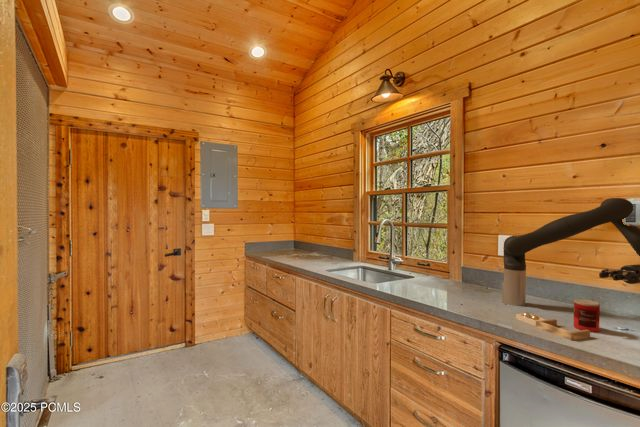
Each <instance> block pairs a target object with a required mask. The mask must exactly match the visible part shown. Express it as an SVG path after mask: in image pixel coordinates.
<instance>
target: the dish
mask: <svg viewBox="0 0 640 427" xmlns="http://www.w3.org/2000/svg"><path fill="white" fill-rule="evenodd" d="M529 314H530V313H529ZM530 315H531V317H532V316H533V314H530ZM538 317H539V316H538ZM515 319H516V320H519V321H521V322H524V323H527V324H530V325H533V326H535V327H536V321H541V320H547V319H545V318H542V317H539V319H540V320H533V319H530V318H527V317H525V316H523V313H516V314H515Z"/></svg>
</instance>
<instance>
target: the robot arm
mask: <svg viewBox="0 0 640 427" xmlns="http://www.w3.org/2000/svg"><path fill="white" fill-rule="evenodd" d="M633 211H634V205H633V203H632V202H631V201H630V200H629V199H626V198H621V197H610V198H606V199H605V200H603V201H602V202H601V203H600V204H599V206H598V207H597V206H596V207H595V208H592V209H589V210H587V211H582V212H578V213H574V214H569V215H565V216H563V217H560V218H557V219H554V220H553V221H550V222H548V223H546V224H544V225H543V226H541V227H539V228H537V229H535V230H533V231H532V232H528V233H524V234H521V235H511V236H509V237H507V238H506V239H504V241H503V282H502V283H501V303H503V304H504V305H508V306H515V307H524V306H526V305H527V304H526V301H527V299H526V298H527V297H526V296H527V294H526V292H527V290H526V289H527V263H526V253H528V252H530V251H532V250H535V249H537V248H540V247H542V246H546V245H550V244H552V243H556V242H559V241H563V240H565V239H568V238H571V237H574V236H577V235H579V234H582V233H584V232H587V231H589V230H591V229H593V228H596V227H598V226H600V225H605V224H608V223H611V224H612V225H613V226H614V227H615V228H616V229H617V230H618V231H619V233H620V234H621V235H622V236H623V237H624V238H625V239H626V241H627V242H628V244H629V245H630V247H631V248H632V249H633V250H634V252H635V251H636V252H635V253H636V254H637V256H638V255H639V256H640V229H638V228H637V227H632V226H627V225H624V224H623V222H622V219H624V218H626V217H628V216H629V217H630V216H631V214H632V213H633ZM639 256H638V257H639ZM598 276H599V278H600V279H612V280H613V281H622V282H624V283H625V284H629V285H636V284H637V285H638V284H640V264H628V265H627V264H626V265H623V266H621V267H620V268H617V269H608V268H604V269H601V270H600V272H599V274H598Z"/></svg>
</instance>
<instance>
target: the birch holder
mask: <svg viewBox="0 0 640 427" xmlns="http://www.w3.org/2000/svg"><path fill="white" fill-rule="evenodd" d="M557 324H558V319H556V318H550V319H549V318H548V319H546V320H541V321H536V326H535V327H536V328H537V329H539V330H542V331H545V332H547V333H550V334H553V335H555V336H558V337H561V338H563V339H566V340H568V341H576V340H583V339H589V338H591V332H590V330H574V331H573V330H572V331H569V330H566V329H563V328H560V327H557V326H558V325H557Z"/></svg>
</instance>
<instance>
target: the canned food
mask: <svg viewBox="0 0 640 427" xmlns="http://www.w3.org/2000/svg"><path fill="white" fill-rule="evenodd" d="M600 308H601V307H600V302H597V301H594V300H591V299H583V298H575V299H574V301H573V328H575V329H576V330H578V331H580V330H590V333H599V332H600V314H601V313H600V312H601V311H600Z"/></svg>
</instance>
